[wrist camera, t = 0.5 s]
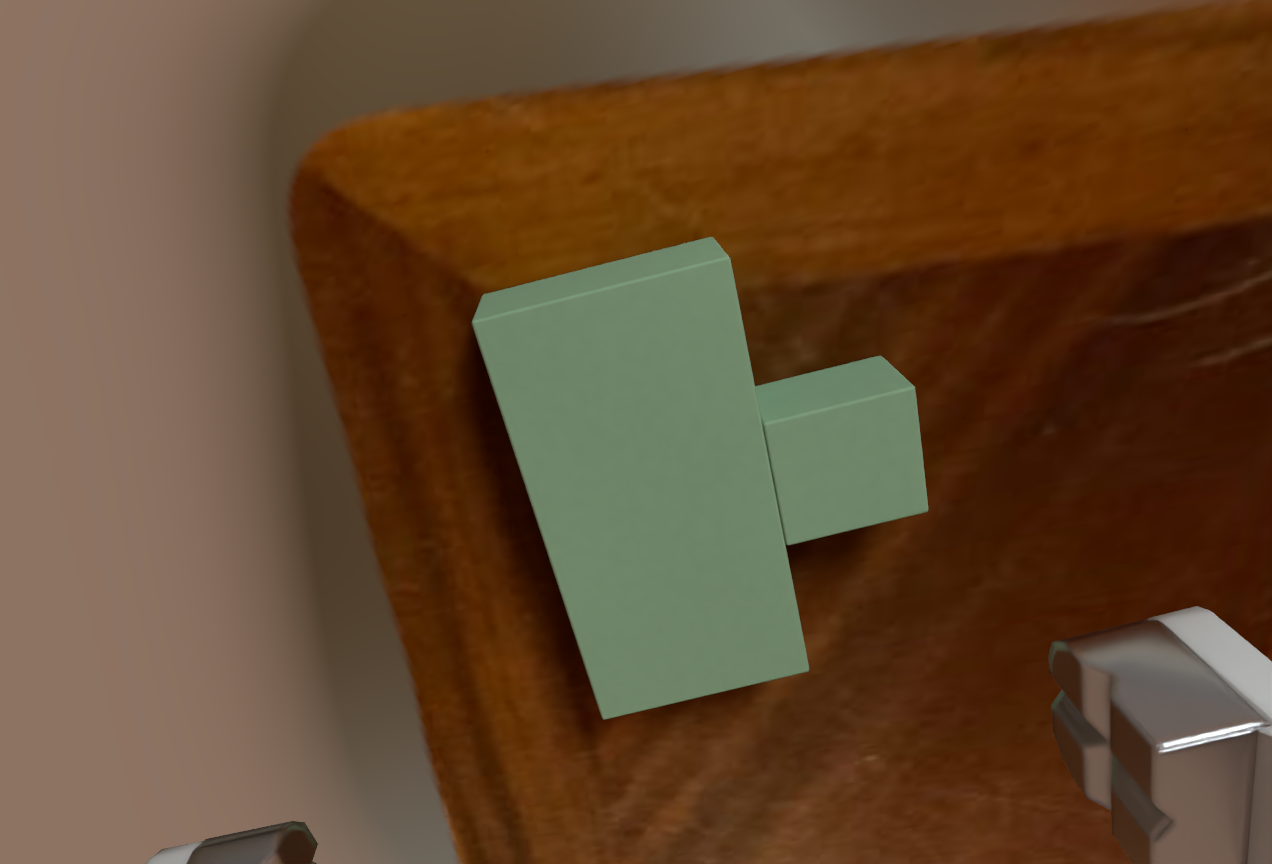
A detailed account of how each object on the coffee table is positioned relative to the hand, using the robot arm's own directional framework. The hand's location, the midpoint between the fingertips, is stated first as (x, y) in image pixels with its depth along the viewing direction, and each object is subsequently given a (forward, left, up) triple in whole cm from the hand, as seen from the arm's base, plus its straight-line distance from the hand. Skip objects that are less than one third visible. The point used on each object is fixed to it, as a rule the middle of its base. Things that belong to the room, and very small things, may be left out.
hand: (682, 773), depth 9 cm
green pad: (+4, +2, -14) cm, 15 cm away
